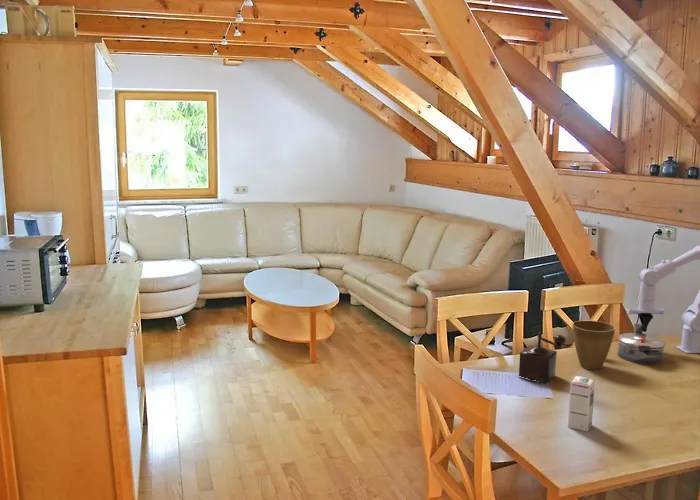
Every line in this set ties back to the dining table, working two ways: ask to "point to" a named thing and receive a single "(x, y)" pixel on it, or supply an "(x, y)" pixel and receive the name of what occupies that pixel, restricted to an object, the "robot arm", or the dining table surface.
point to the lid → (641, 339)
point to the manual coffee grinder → (540, 360)
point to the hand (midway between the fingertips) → (643, 331)
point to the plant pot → (592, 342)
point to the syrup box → (581, 403)
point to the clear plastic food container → (640, 354)
